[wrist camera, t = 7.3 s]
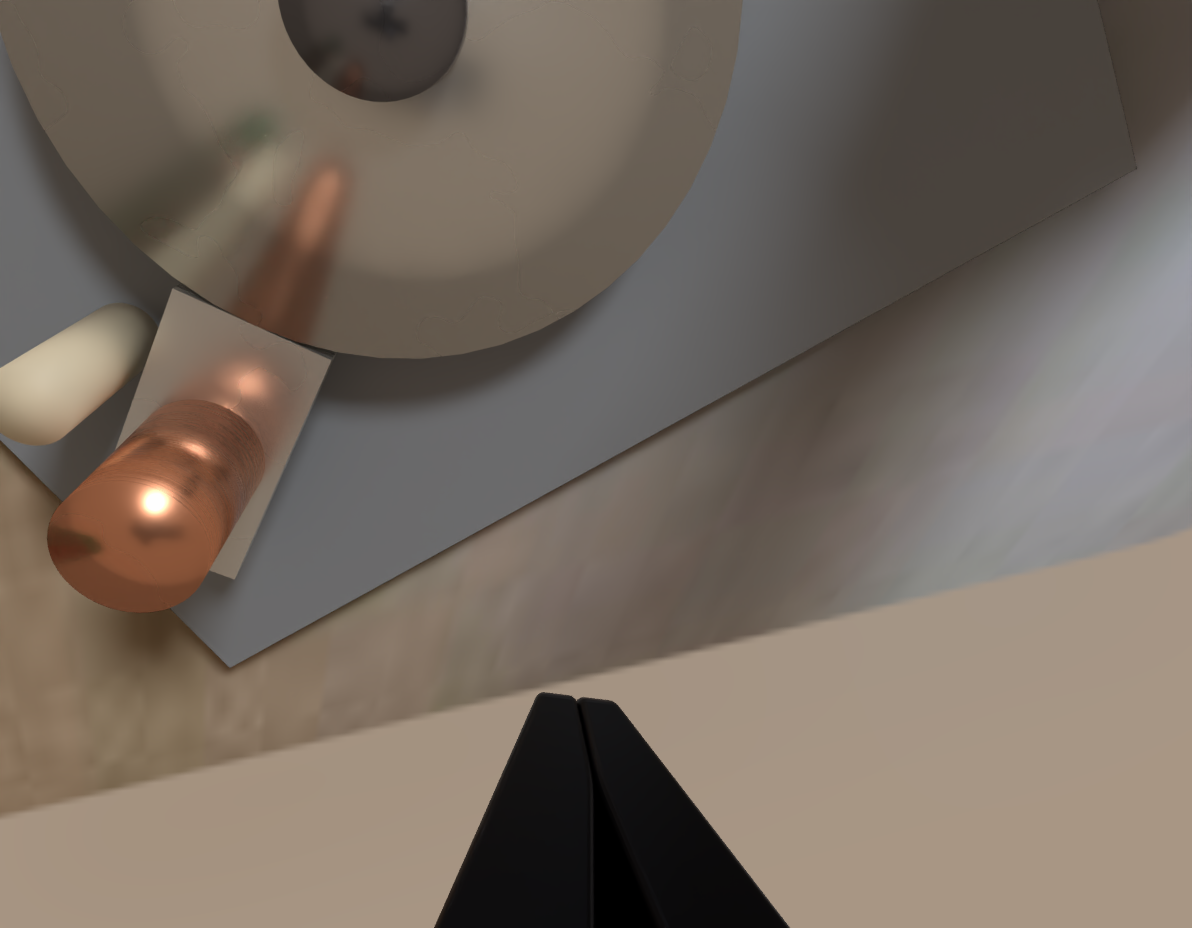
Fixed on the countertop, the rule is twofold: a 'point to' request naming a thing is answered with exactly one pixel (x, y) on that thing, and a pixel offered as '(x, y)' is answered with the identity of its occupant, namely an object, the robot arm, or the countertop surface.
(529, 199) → the flange plate
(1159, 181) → the countertop surface
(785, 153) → the slate board
